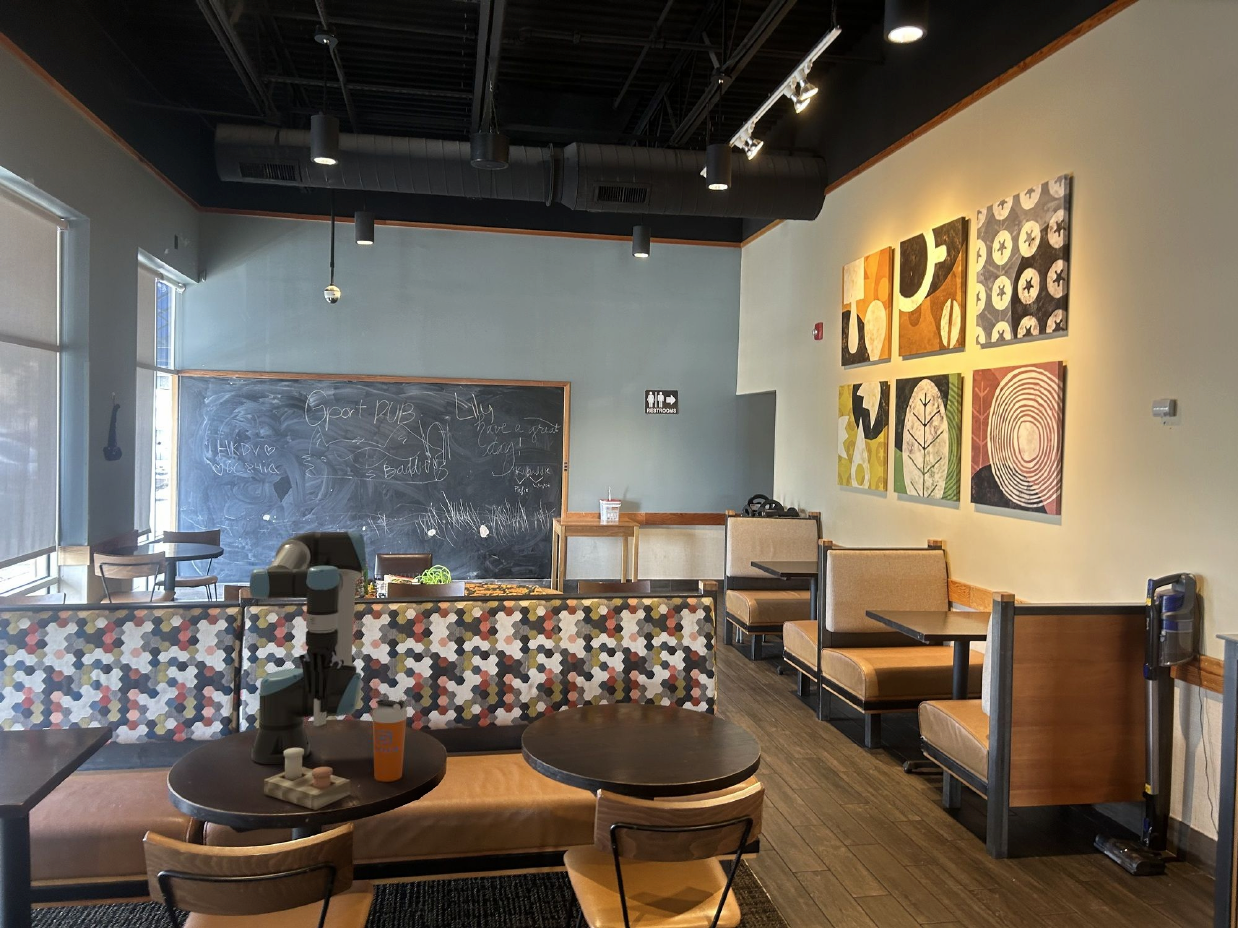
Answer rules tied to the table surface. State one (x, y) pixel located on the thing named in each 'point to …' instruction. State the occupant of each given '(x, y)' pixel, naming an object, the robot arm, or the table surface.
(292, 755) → the plug cream
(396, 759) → the shaker bottle
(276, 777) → the socket board
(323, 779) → the plug rust
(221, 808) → the table surface
